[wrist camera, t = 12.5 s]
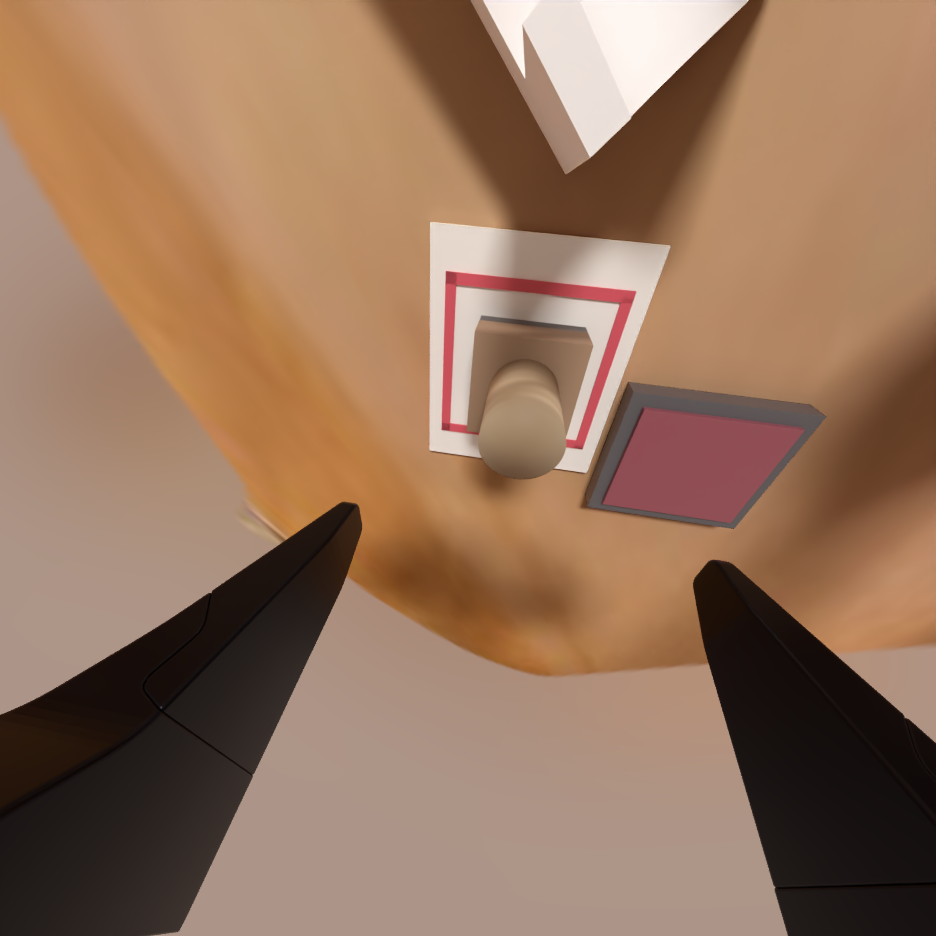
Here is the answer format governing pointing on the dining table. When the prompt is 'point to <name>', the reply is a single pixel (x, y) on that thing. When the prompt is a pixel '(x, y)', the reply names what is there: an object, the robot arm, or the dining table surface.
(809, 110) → the dining table surface
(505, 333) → the stamp
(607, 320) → the paper card
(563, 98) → the bracket
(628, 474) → the ink pad
